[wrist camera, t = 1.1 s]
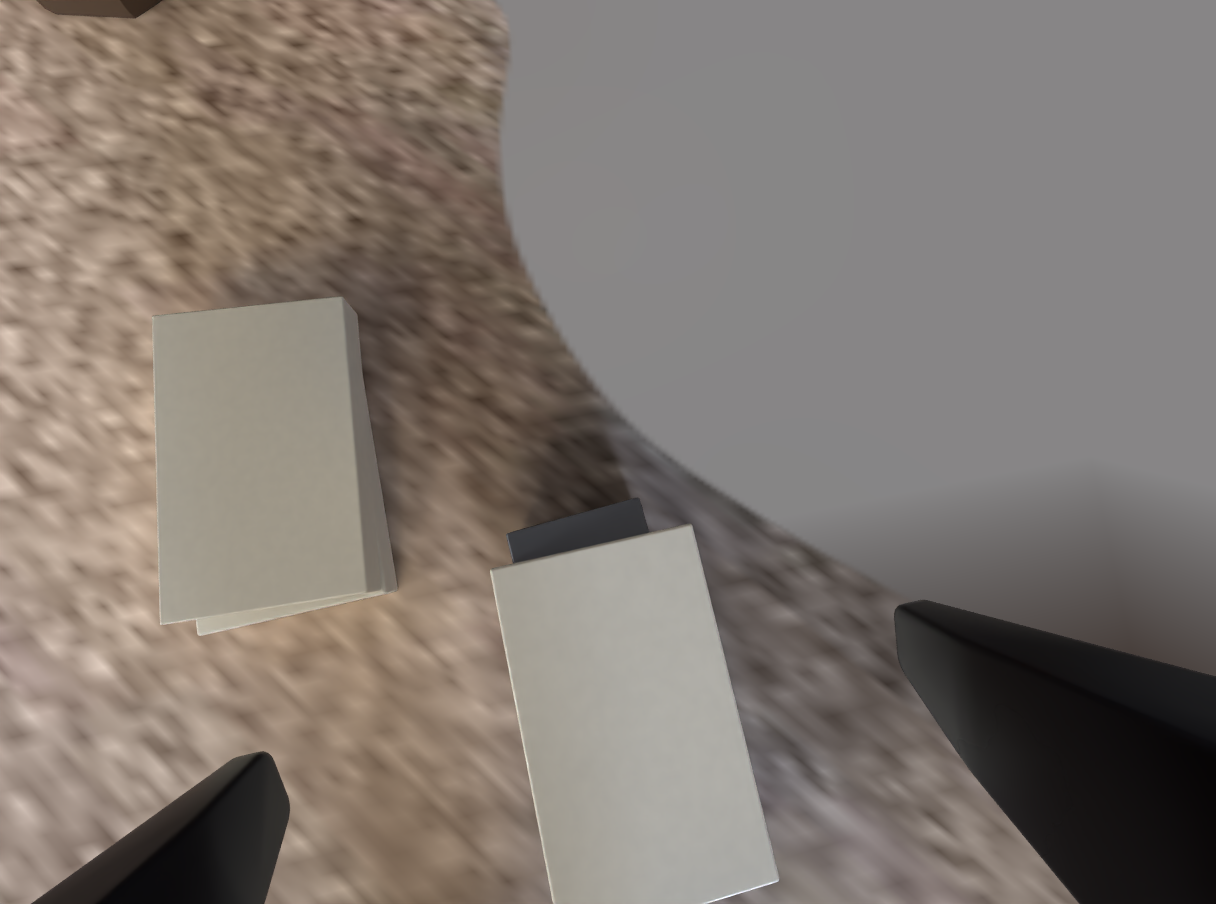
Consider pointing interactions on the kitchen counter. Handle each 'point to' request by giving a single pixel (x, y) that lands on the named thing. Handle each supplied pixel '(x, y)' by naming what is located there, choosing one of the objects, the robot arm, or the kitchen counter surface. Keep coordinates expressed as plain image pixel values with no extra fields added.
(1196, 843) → the robot arm
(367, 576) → the cream flat block
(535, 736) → the white book
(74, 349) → the kitchen counter surface
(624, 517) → the dark grey rectangular block
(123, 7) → the beer bottle
